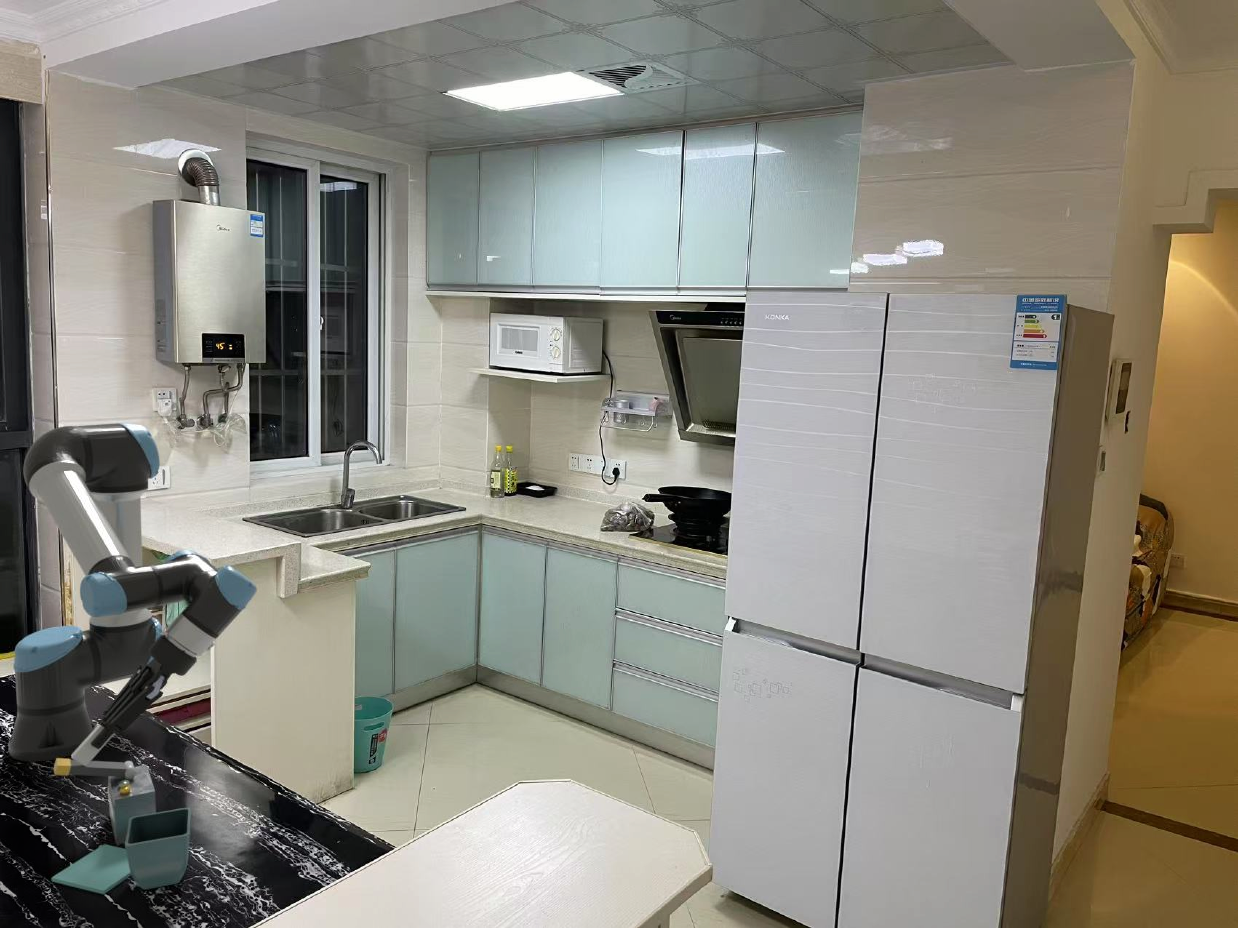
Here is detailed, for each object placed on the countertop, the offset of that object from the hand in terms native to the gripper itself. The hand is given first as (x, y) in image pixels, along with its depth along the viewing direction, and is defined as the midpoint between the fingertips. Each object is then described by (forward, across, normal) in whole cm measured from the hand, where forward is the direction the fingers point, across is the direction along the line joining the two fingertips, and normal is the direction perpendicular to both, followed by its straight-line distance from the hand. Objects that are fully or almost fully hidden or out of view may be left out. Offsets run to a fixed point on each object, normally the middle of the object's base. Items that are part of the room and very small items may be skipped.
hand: (78, 760), depth 154 cm
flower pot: (+4, -21, -16) cm, 26 cm away
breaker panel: (+4, -1, -14) cm, 15 cm away
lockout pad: (+8, -14, -10) cm, 19 cm away
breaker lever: (-2, +1, -8) cm, 8 cm away
